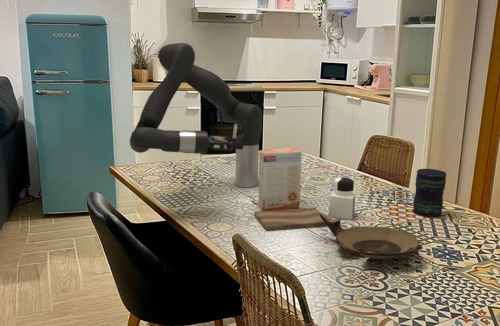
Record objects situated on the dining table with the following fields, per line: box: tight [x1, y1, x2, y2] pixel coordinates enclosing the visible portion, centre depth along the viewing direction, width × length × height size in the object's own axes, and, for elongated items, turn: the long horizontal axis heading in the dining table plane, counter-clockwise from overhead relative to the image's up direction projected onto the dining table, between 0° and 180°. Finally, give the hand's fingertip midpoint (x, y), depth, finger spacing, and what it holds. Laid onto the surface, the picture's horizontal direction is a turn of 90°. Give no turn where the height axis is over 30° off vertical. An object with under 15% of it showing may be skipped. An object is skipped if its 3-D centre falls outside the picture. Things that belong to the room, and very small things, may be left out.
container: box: [328, 176, 357, 221], centre depth 171 cm, size 8×8×13 cm
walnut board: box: [253, 207, 328, 232], centre depth 166 cm, size 14×22×2 cm, turn 105°
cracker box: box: [258, 148, 302, 211], centre depth 177 cm, size 14×6×21 cm, turn 105°
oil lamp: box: [320, 212, 424, 260], centre depth 144 cm, size 22×30×8 cm
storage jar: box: [412, 168, 447, 219], centre depth 175 cm, size 10×10×15 cm
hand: (239, 143), depth 170 cm, fingers open, 8 cm apart
